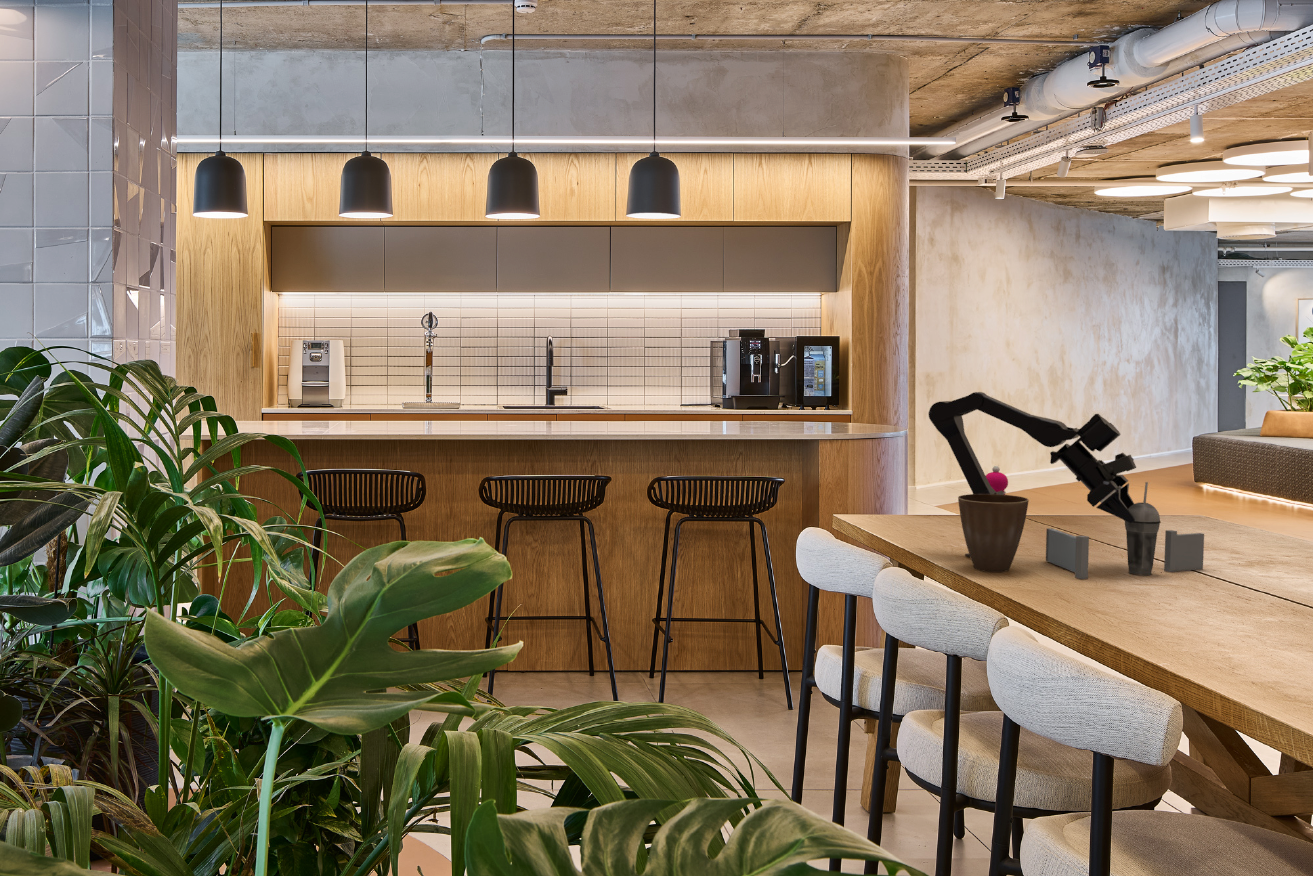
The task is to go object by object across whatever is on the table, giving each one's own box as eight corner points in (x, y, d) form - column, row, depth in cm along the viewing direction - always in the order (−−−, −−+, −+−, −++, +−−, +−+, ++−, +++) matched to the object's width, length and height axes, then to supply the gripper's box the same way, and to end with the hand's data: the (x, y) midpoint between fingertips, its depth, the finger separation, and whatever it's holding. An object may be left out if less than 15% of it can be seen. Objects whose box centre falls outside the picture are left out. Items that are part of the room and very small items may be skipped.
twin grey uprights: (1080, 579, 215) (1082, 537, 215) (1074, 577, 217) (1076, 535, 216) (1204, 569, 226) (1205, 529, 225) (1197, 568, 228) (1198, 528, 227)
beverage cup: (1114, 572, 222) (1118, 481, 221) (1133, 568, 227) (1136, 479, 225) (1147, 578, 216) (1151, 484, 215) (1165, 574, 221) (1169, 483, 219)
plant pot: (1031, 577, 217) (1033, 503, 216) (959, 574, 220) (961, 501, 219) (1021, 564, 232) (1023, 494, 231) (953, 561, 235) (955, 493, 234)
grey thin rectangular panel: (1088, 575, 218) (1089, 541, 217) (1081, 575, 218) (1083, 541, 217) (1051, 560, 235) (1052, 528, 235) (1045, 560, 235) (1046, 528, 235)
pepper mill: (1013, 546, 256) (1015, 467, 255) (984, 546, 256) (986, 467, 255) (1003, 541, 263) (1005, 464, 262) (975, 541, 263) (977, 464, 262)
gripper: (1105, 444, 215) (1161, 499, 210) (1119, 439, 231) (1171, 490, 226) (1065, 478, 220) (1118, 533, 215) (1081, 471, 236) (1131, 522, 231)
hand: (1136, 519), depth 221 cm, fingers open, 9 cm apart
